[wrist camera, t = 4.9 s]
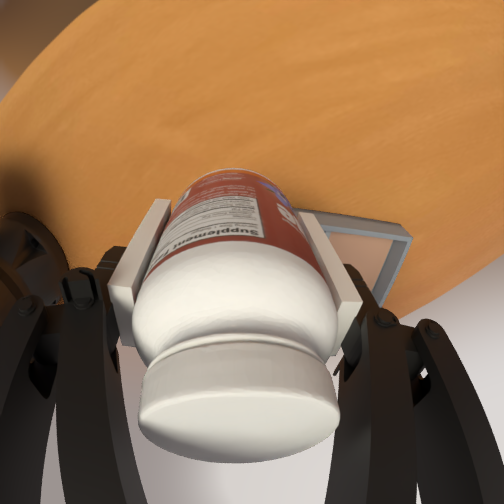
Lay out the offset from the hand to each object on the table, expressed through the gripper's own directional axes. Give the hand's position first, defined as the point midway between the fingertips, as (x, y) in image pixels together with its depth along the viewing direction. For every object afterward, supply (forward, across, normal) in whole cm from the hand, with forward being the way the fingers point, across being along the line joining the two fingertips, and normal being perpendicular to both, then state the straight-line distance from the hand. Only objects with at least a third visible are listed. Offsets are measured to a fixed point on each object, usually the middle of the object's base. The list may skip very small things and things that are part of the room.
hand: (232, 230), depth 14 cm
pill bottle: (+1, 0, 0) cm, 1 cm away
